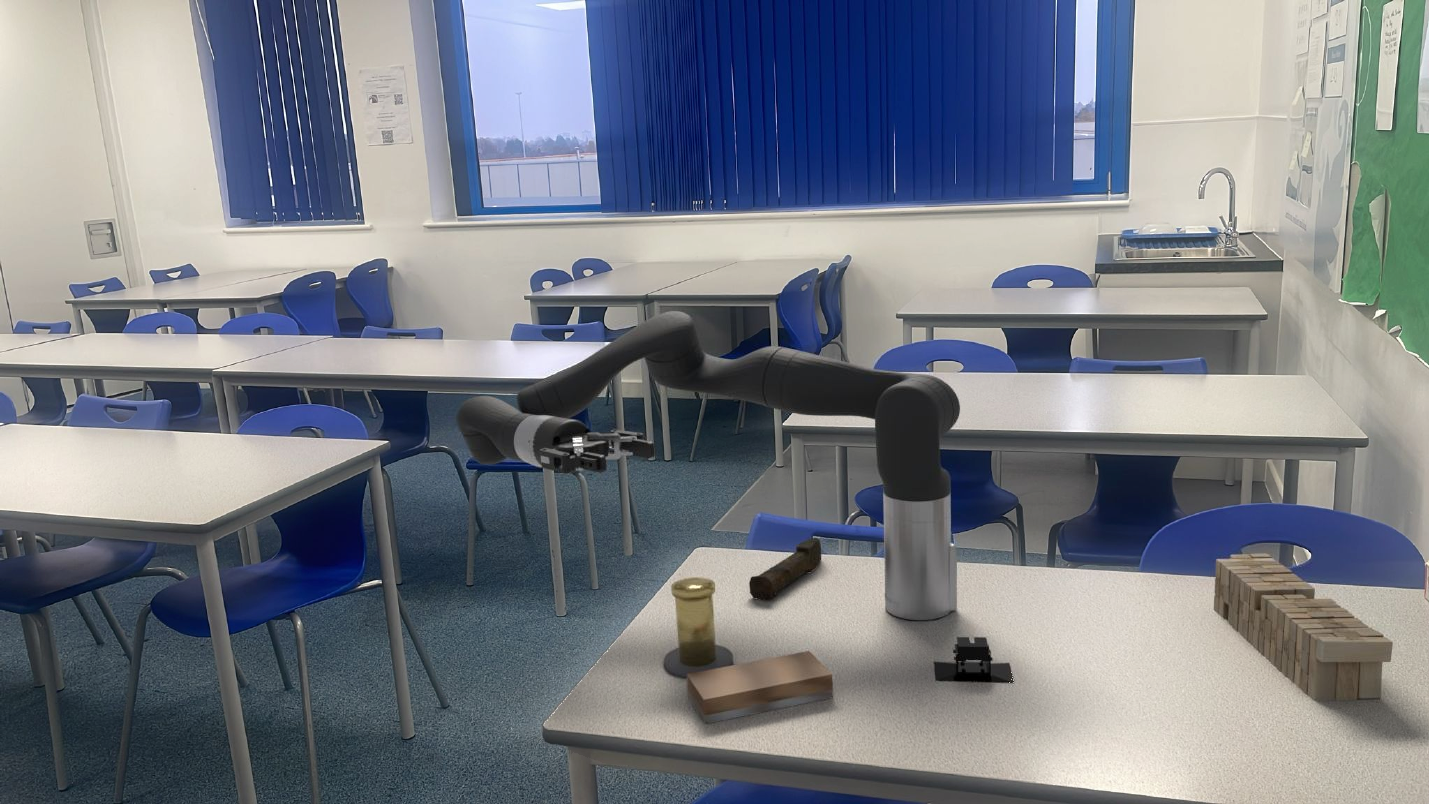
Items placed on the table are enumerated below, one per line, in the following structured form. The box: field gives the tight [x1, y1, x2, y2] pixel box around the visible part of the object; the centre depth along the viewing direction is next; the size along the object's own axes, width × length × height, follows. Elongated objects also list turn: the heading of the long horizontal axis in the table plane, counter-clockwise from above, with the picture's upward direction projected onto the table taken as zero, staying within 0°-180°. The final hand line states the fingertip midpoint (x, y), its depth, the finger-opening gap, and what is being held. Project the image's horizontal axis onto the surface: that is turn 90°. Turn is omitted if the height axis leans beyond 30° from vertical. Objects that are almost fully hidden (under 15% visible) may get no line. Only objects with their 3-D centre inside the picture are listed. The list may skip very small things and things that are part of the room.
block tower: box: [1213, 553, 1394, 701], centre depth 133 cm, size 8×8×29 cm
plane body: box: [686, 650, 834, 725], centre depth 128 cm, size 16×7×3 cm, turn 108°
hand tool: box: [748, 537, 822, 602], centre depth 165 cm, size 19×4×5 cm, turn 143°
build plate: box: [933, 636, 1015, 684], centre depth 132 cm, size 12×7×5 cm, turn 81°
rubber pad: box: [663, 644, 734, 679], centre depth 138 cm, size 9×9×1 cm
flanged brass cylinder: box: [670, 576, 717, 666], centre depth 137 cm, size 6×6×10 cm
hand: (628, 457), depth 141 cm, fingers open, 8 cm apart
